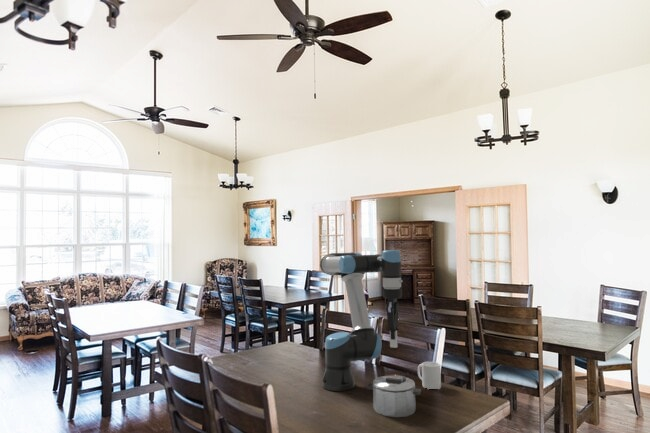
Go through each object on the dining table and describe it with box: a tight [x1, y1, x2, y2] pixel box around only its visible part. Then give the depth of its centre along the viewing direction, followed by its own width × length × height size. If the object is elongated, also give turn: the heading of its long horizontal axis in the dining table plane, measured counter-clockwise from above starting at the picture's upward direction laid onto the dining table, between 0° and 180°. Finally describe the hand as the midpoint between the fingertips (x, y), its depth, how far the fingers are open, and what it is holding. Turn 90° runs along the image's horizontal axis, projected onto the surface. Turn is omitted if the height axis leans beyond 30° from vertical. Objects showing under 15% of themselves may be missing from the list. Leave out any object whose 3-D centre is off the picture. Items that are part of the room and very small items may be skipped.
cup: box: [417, 361, 442, 390], centre depth 188 cm, size 8×12×10 cm
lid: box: [372, 374, 416, 392], centre depth 164 cm, size 16×17×2 cm
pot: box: [366, 383, 422, 418], centre depth 163 cm, size 21×17×9 cm
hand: (393, 347), depth 166 cm, fingers closed
